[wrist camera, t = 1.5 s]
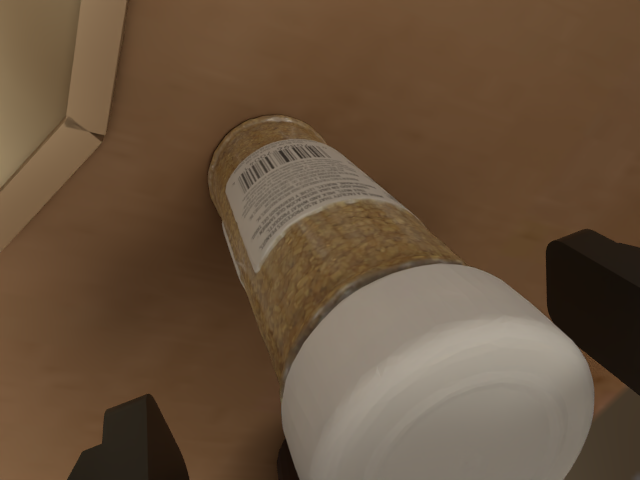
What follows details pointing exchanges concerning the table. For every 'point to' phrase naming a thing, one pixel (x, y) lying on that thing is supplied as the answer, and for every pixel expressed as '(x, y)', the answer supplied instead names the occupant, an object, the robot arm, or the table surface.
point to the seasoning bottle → (388, 326)
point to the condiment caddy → (52, 96)
